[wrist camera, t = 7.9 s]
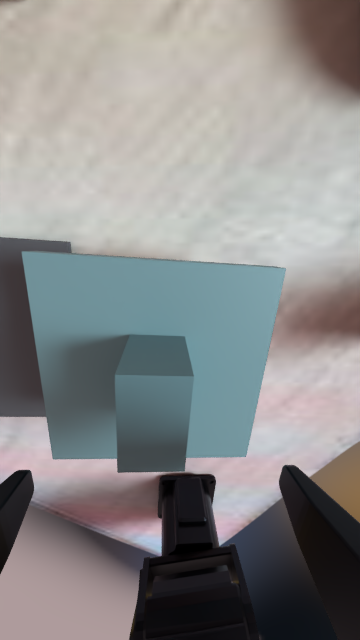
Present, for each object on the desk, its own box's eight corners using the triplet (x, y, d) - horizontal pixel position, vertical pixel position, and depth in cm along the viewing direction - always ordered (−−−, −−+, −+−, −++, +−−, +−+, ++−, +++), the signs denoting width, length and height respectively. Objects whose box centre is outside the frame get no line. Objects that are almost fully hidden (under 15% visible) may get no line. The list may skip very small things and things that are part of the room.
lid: (240, 442, 17) (272, 524, 12) (61, 443, 16) (13, 535, 11) (275, 266, 13) (345, 279, 8) (35, 250, 12) (-60, 254, 7)
